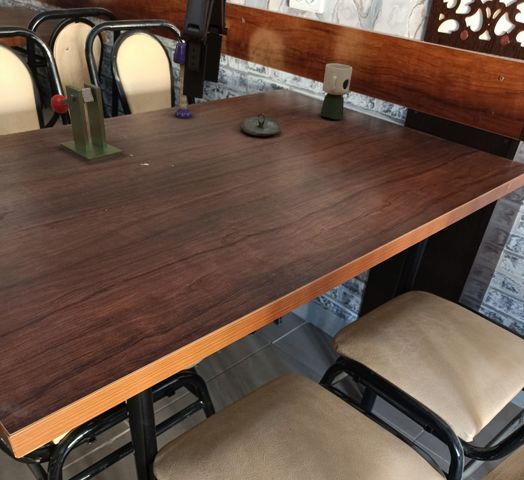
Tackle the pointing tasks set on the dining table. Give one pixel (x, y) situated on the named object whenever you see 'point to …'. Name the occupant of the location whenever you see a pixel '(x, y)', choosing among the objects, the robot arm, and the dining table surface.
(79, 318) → the dining table surface
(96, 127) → the stand
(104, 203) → the dining table surface
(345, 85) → the character mug
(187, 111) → the toy lamp
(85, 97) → the lever
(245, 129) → the lid
